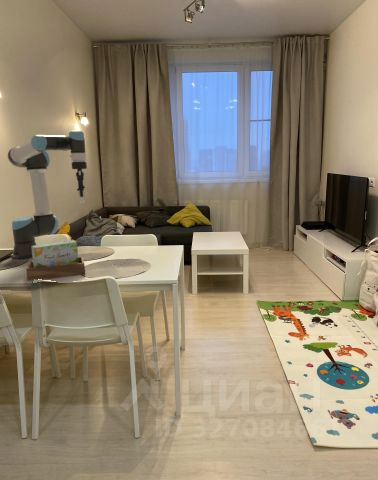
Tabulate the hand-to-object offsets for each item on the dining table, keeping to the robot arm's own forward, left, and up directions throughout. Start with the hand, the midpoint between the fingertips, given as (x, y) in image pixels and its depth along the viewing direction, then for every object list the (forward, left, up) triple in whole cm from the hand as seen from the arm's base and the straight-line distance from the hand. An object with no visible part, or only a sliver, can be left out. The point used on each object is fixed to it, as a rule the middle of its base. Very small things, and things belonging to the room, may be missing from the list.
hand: (82, 201), depth 197 cm
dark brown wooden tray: (+14, -16, -35) cm, 40 cm away
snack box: (+14, -15, -34) cm, 40 cm away
